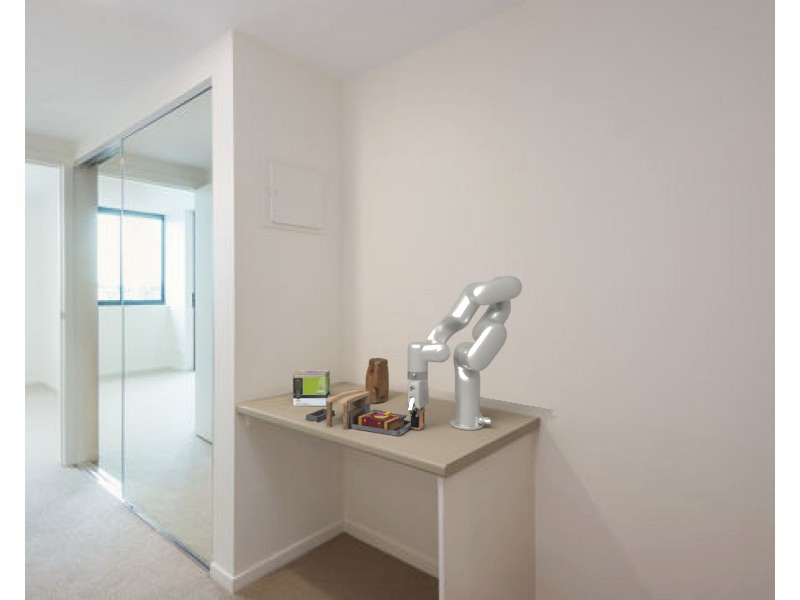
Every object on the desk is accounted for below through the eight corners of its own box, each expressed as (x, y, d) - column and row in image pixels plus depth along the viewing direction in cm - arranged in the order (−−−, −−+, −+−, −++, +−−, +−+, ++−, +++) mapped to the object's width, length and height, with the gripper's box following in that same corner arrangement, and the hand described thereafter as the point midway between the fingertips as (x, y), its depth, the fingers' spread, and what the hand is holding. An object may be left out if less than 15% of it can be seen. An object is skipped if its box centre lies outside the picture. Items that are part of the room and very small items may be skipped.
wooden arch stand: (369, 417, 170) (369, 391, 170) (346, 429, 155) (347, 401, 155) (350, 415, 174) (350, 389, 174) (326, 426, 159) (326, 398, 159)
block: (378, 398, 203) (378, 356, 202) (390, 400, 198) (390, 358, 198) (363, 402, 194) (363, 359, 194) (375, 405, 189) (375, 360, 189)
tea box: (330, 401, 197) (330, 369, 197) (326, 406, 187) (326, 373, 187) (298, 400, 198) (298, 369, 198) (292, 406, 188) (292, 373, 187)
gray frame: (334, 415, 174) (334, 410, 174) (318, 422, 164) (318, 417, 164) (322, 413, 176) (322, 408, 176) (305, 420, 167) (305, 415, 167)
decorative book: (388, 435, 150) (388, 421, 150) (353, 427, 159) (353, 414, 159) (406, 427, 159) (406, 414, 159) (372, 420, 168) (372, 407, 168)
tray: (424, 426, 158) (424, 407, 158) (409, 437, 146) (409, 417, 146) (367, 418, 169) (367, 400, 169) (348, 427, 156) (348, 408, 156)
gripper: (418, 380, 147) (417, 433, 147) (435, 372, 162) (435, 420, 162) (398, 378, 150) (398, 430, 150) (417, 371, 165) (417, 418, 165)
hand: (417, 424), depth 156 cm, fingers closed on tray, 4 cm apart
